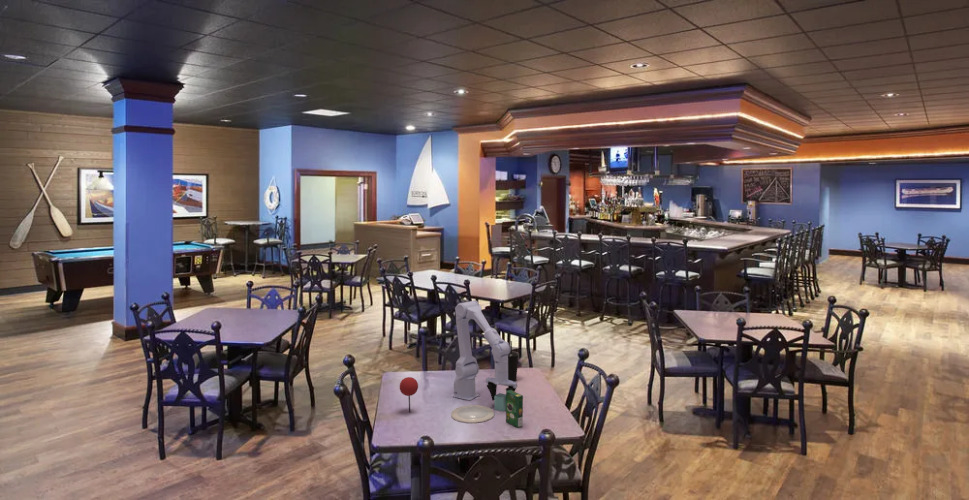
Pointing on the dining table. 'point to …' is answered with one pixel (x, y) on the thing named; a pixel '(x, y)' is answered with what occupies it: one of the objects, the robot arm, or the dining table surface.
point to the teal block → (500, 402)
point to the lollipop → (408, 387)
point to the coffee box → (514, 408)
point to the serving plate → (472, 414)
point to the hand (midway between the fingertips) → (501, 401)
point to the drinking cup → (512, 364)
